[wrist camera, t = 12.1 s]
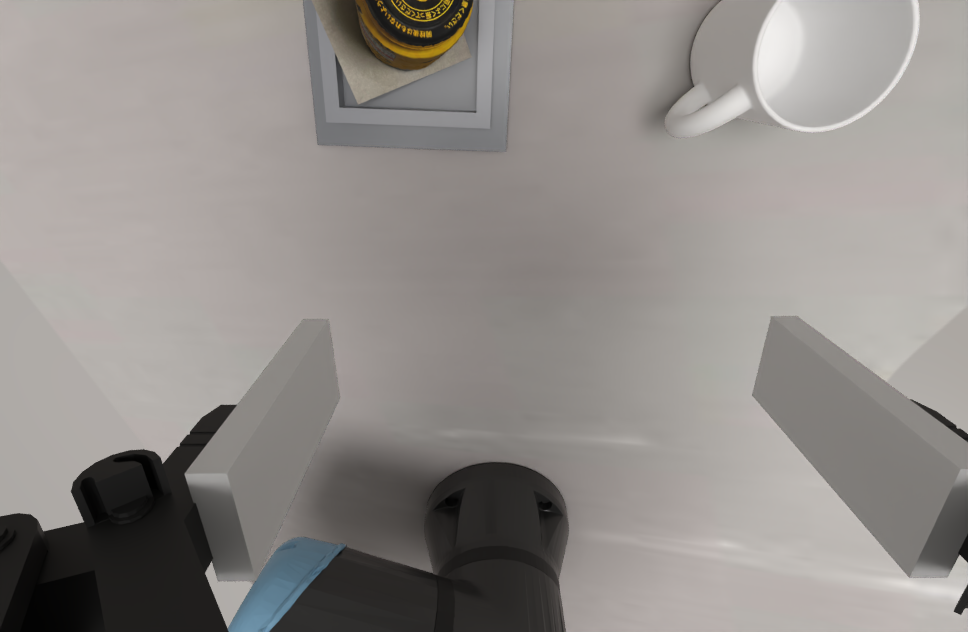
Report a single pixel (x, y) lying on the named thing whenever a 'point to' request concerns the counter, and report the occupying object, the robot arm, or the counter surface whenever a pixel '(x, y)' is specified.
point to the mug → (795, 63)
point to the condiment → (394, 40)
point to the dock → (421, 93)
